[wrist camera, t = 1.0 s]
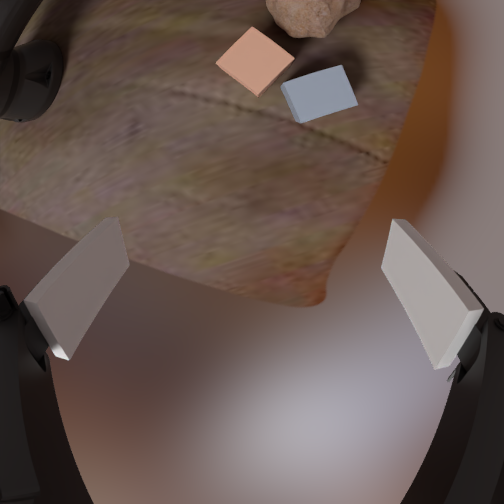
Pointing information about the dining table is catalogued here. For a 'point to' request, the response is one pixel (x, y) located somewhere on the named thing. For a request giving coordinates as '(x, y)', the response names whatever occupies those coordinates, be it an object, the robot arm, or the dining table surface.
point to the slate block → (319, 94)
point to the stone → (309, 15)
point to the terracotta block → (255, 61)
